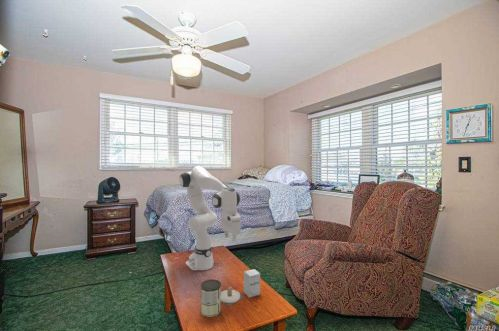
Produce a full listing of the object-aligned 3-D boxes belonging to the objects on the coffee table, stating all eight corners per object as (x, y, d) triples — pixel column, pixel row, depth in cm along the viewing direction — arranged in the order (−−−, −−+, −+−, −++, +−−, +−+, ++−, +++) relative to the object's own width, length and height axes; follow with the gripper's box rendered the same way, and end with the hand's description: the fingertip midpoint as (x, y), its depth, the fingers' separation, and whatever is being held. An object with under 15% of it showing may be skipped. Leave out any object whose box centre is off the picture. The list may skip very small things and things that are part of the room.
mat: (214, 298, 135) (214, 297, 135) (230, 290, 144) (230, 289, 144) (228, 306, 127) (228, 306, 127) (244, 297, 136) (244, 297, 136)
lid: (214, 297, 135) (214, 287, 135) (230, 289, 144) (230, 280, 144) (228, 306, 127) (229, 295, 127) (244, 297, 136) (244, 287, 136)
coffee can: (198, 308, 125) (198, 281, 125) (216, 303, 130) (216, 277, 130) (204, 320, 116) (204, 291, 116) (223, 314, 121) (224, 286, 121)
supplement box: (249, 298, 135) (249, 276, 135) (243, 292, 142) (243, 270, 142) (260, 295, 139) (260, 273, 139) (254, 289, 145) (254, 268, 145)
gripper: (217, 213, 148) (218, 235, 148) (232, 219, 130) (232, 244, 130) (227, 212, 151) (227, 234, 151) (242, 217, 133) (243, 242, 133)
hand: (230, 239), depth 140 cm, fingers open, 8 cm apart
